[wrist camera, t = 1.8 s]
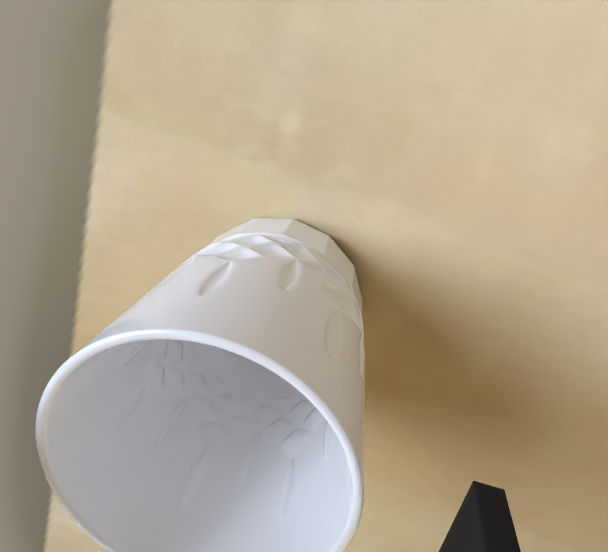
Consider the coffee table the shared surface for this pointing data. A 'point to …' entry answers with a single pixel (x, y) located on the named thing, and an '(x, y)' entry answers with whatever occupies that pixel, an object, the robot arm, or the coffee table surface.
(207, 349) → the white cup
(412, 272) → the coffee table surface
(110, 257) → the coffee table surface
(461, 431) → the coffee table surface
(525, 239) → the coffee table surface
